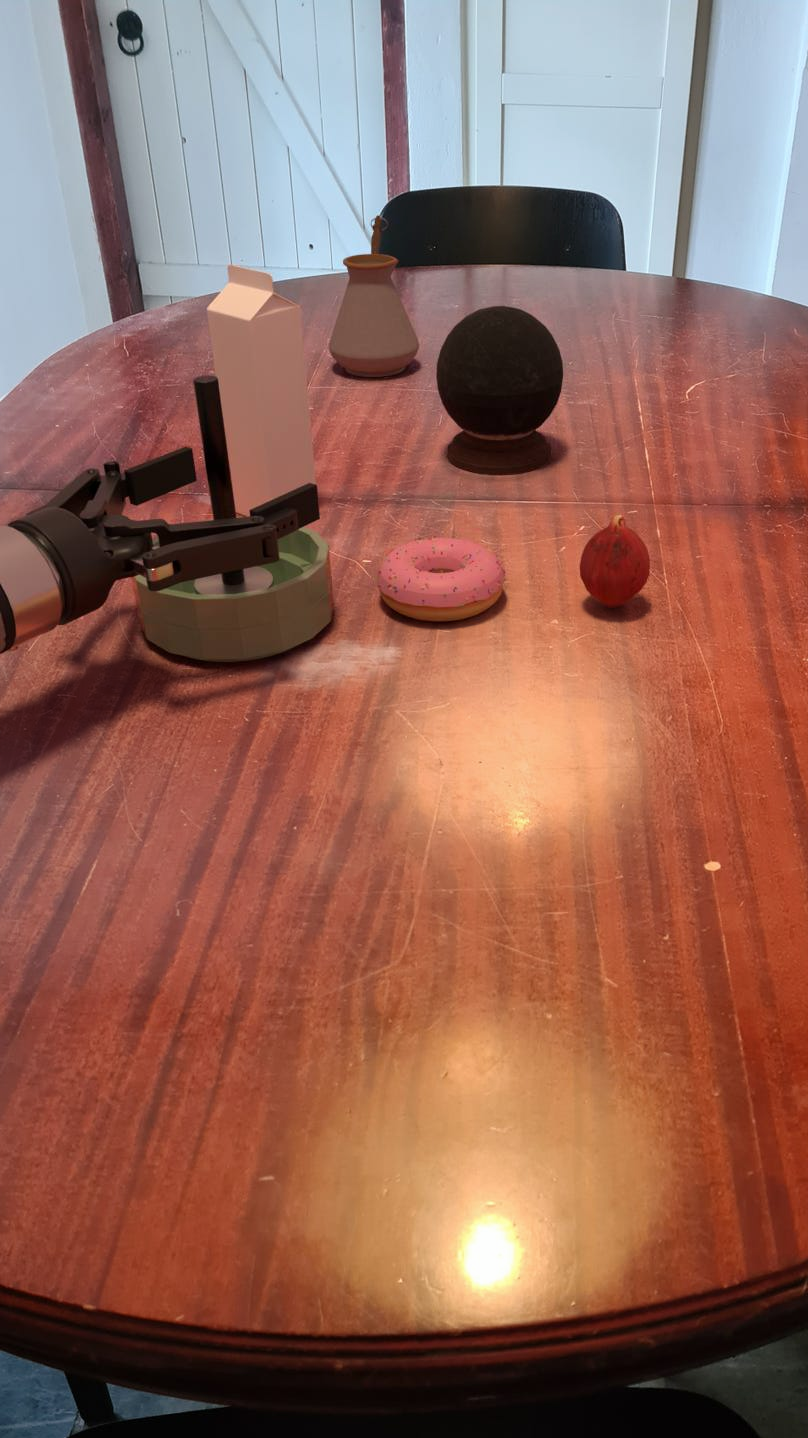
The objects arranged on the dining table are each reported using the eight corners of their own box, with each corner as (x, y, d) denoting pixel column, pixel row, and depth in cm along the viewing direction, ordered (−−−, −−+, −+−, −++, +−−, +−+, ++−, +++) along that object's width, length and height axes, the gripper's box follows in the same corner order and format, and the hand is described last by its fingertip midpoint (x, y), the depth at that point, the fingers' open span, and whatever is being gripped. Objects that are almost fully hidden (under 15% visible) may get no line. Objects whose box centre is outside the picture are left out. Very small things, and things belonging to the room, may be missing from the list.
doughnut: (409, 564, 111) (406, 520, 109) (523, 583, 108) (524, 538, 105) (355, 616, 103) (352, 570, 101) (478, 638, 100) (477, 591, 97)
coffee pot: (417, 382, 153) (412, 250, 144) (325, 382, 153) (314, 250, 144) (426, 334, 170) (422, 214, 161) (343, 334, 170) (335, 214, 161)
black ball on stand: (412, 456, 133) (407, 308, 124) (498, 426, 140) (498, 284, 131) (500, 488, 126) (501, 333, 116) (585, 454, 133) (592, 307, 124)
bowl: (105, 648, 99) (90, 579, 96) (209, 570, 111) (199, 506, 107) (274, 683, 94) (266, 612, 91) (365, 598, 106) (360, 532, 102)
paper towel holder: (184, 624, 101) (143, 386, 89) (225, 592, 105) (192, 362, 94) (252, 638, 99) (219, 396, 87) (291, 604, 103) (265, 371, 92)
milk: (273, 528, 118) (244, 281, 104) (232, 512, 121) (199, 270, 108) (320, 509, 122) (298, 267, 108) (279, 493, 125) (252, 257, 111)
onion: (643, 625, 102) (651, 533, 97) (574, 620, 102) (578, 528, 98) (648, 594, 106) (656, 505, 101) (582, 589, 107) (586, 500, 102)
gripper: (-63, 581, 93) (151, 492, 106) (166, 678, 81) (374, 564, 94) (-92, 483, 88) (136, 404, 101) (146, 571, 76) (368, 468, 90)
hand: (251, 481), depth 98 cm, fingers open, 13 cm apart
